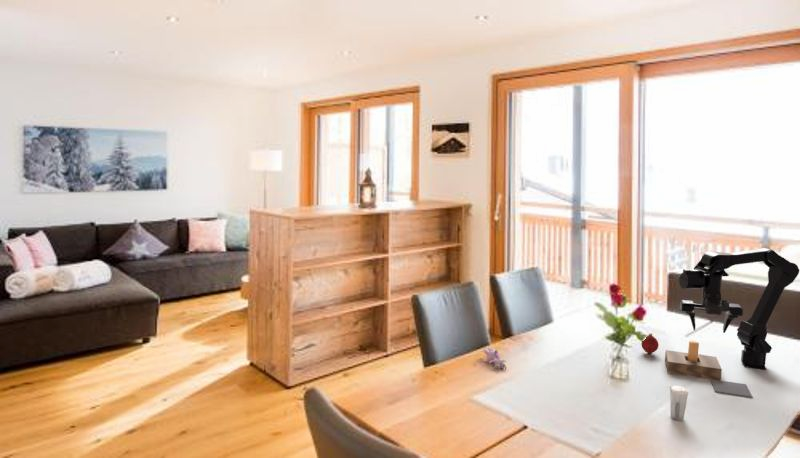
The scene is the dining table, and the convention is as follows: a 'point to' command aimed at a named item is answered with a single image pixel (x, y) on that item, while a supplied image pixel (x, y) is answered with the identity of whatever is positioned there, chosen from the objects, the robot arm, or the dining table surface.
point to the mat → (731, 388)
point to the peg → (693, 351)
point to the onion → (650, 344)
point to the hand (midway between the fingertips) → (709, 331)
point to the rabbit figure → (494, 358)
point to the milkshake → (678, 402)
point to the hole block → (692, 365)
